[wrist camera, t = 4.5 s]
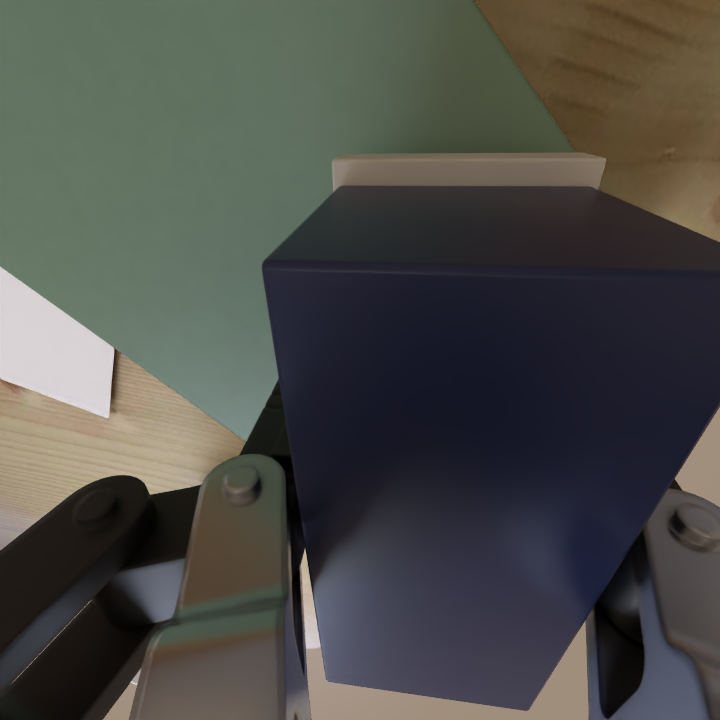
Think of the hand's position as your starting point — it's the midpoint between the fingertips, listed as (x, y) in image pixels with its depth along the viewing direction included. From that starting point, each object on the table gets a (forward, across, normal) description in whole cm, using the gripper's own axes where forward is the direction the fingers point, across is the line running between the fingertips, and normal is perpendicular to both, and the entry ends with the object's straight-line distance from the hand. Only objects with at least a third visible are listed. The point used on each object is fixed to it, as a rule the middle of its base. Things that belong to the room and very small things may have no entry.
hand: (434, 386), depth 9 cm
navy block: (0, 0, 0) cm, 0 cm away
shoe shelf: (+9, +4, -2) cm, 10 cm away
